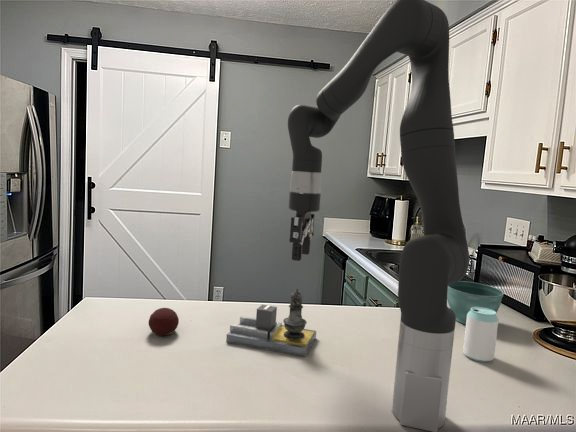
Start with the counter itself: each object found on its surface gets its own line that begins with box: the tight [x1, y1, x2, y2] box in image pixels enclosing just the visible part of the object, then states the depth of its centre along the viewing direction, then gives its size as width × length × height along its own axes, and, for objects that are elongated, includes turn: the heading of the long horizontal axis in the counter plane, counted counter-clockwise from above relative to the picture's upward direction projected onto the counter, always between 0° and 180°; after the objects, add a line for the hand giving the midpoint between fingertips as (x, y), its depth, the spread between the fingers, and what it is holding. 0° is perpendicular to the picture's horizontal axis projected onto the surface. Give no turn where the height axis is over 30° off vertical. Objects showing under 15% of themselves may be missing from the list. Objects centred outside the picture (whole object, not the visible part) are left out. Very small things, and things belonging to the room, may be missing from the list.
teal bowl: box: [447, 280, 504, 325], centre depth 129 cm, size 16×16×11 cm
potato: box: [148, 307, 180, 337], centre depth 106 cm, size 7×10×6 cm
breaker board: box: [226, 315, 317, 358], centre depth 105 cm, size 12×20×4 cm, turn 74°
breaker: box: [255, 304, 278, 335], centre depth 105 cm, size 4×4×6 cm
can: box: [462, 307, 499, 363], centre depth 103 cm, size 7×7×12 cm
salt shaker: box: [282, 288, 307, 339], centre depth 103 cm, size 6×6×12 cm
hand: (300, 257), depth 102 cm, fingers open, 8 cm apart
